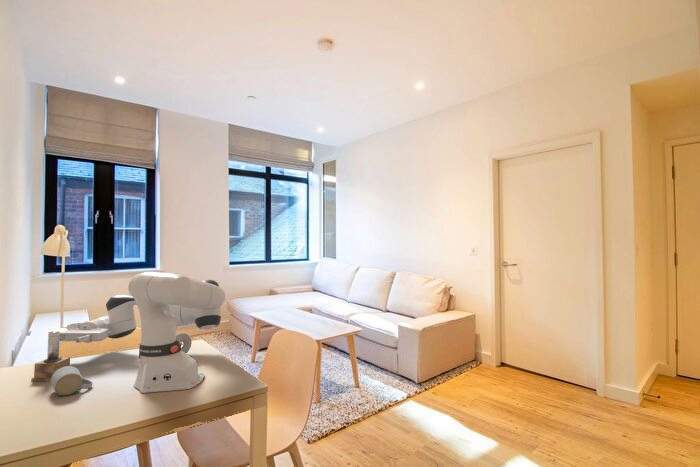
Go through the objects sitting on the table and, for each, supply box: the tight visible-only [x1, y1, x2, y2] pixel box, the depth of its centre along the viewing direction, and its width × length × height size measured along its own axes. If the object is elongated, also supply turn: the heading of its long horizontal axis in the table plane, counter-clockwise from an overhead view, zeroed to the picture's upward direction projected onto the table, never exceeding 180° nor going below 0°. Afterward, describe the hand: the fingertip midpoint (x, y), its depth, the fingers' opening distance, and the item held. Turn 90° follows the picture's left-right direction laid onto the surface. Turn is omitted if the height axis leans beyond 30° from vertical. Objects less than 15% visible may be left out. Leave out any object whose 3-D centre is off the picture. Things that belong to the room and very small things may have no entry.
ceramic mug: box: [50, 365, 94, 397], centre depth 115 cm, size 11×8×8 cm
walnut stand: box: [31, 356, 71, 382], centre depth 126 cm, size 8×8×6 cm
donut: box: [176, 333, 192, 354], centre depth 151 cm, size 10×4×10 cm, turn 153°
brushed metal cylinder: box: [46, 330, 60, 361], centre depth 126 cm, size 3×3×10 cm
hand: (65, 340), depth 132 cm, fingers open, 8 cm apart
